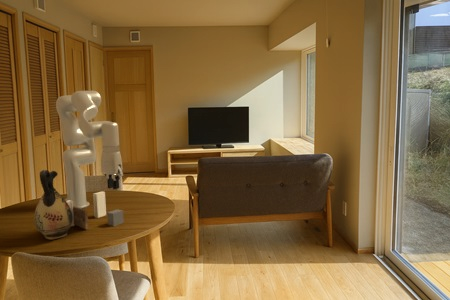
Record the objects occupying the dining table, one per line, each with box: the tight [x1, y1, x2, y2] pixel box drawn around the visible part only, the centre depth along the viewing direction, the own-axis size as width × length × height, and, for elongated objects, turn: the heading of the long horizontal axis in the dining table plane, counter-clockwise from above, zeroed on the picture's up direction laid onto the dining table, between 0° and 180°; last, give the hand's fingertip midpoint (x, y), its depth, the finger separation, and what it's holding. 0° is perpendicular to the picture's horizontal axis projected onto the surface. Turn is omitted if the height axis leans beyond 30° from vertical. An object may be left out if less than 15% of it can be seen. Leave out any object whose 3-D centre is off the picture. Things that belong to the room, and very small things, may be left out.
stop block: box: [106, 208, 125, 227], centre depth 203 cm, size 4×6×6 cm, turn 145°
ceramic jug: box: [33, 169, 73, 240], centre depth 186 cm, size 17×15×30 cm
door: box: [73, 206, 89, 230], centre depth 199 cm, size 3×13×9 cm, turn 45°
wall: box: [66, 191, 107, 227], centre depth 208 cm, size 3×24×12 cm, turn 146°
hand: (113, 187), depth 201 cm, fingers open, 2 cm apart
